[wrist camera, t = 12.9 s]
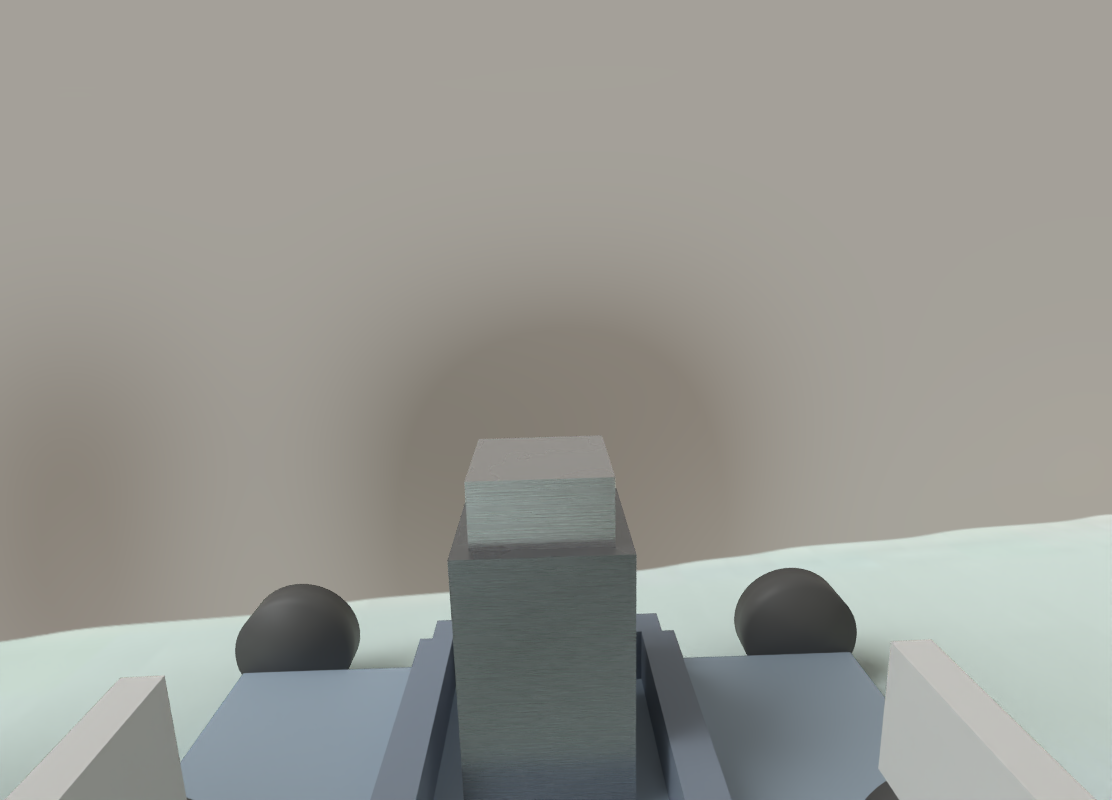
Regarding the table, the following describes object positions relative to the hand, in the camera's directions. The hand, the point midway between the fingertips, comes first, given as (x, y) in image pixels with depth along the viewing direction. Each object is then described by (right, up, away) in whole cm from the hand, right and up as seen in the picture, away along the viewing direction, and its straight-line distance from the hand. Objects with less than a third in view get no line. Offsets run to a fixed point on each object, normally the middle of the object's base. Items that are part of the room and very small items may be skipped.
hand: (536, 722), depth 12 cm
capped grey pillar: (0, -6, +10) cm, 11 cm away
